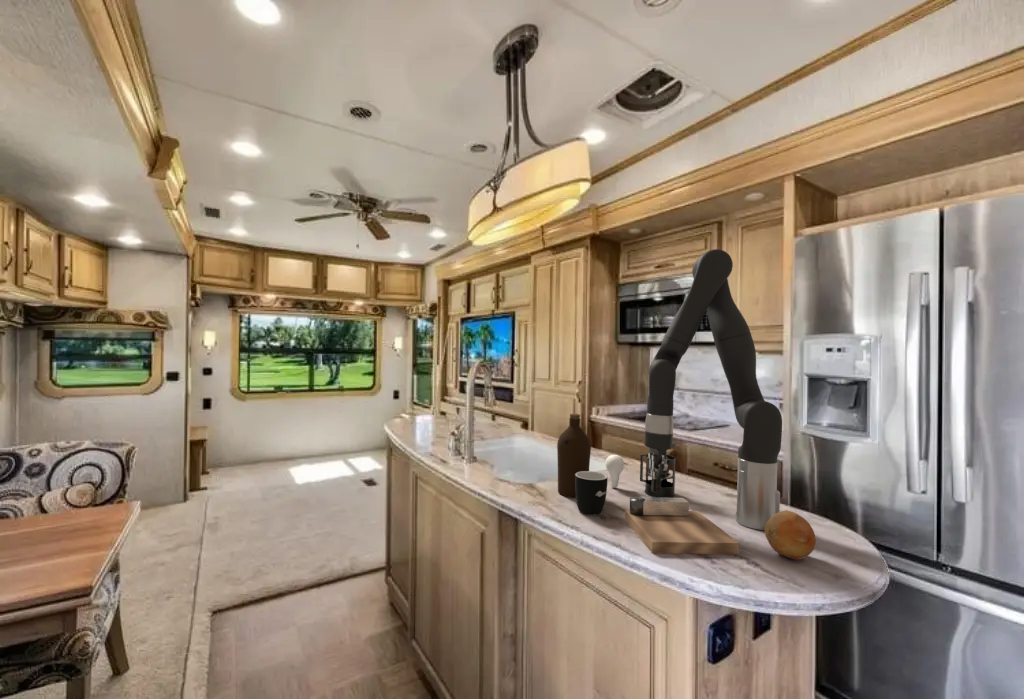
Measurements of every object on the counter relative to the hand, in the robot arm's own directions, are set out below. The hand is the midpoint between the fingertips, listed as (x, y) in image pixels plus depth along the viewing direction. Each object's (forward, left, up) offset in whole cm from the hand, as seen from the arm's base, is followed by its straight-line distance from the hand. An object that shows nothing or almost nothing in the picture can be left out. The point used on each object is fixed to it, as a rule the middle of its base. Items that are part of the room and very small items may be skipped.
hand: (655, 492), depth 124 cm
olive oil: (+20, -18, -6) cm, 27 cm away
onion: (-21, +25, -6) cm, 34 cm away
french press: (-8, -19, -6) cm, 21 cm away
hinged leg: (+2, +7, -3) cm, 8 cm away
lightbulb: (+5, -24, -6) cm, 25 cm away
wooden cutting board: (0, +14, -6) cm, 16 cm away
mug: (+17, -3, -6) cm, 18 cm away
